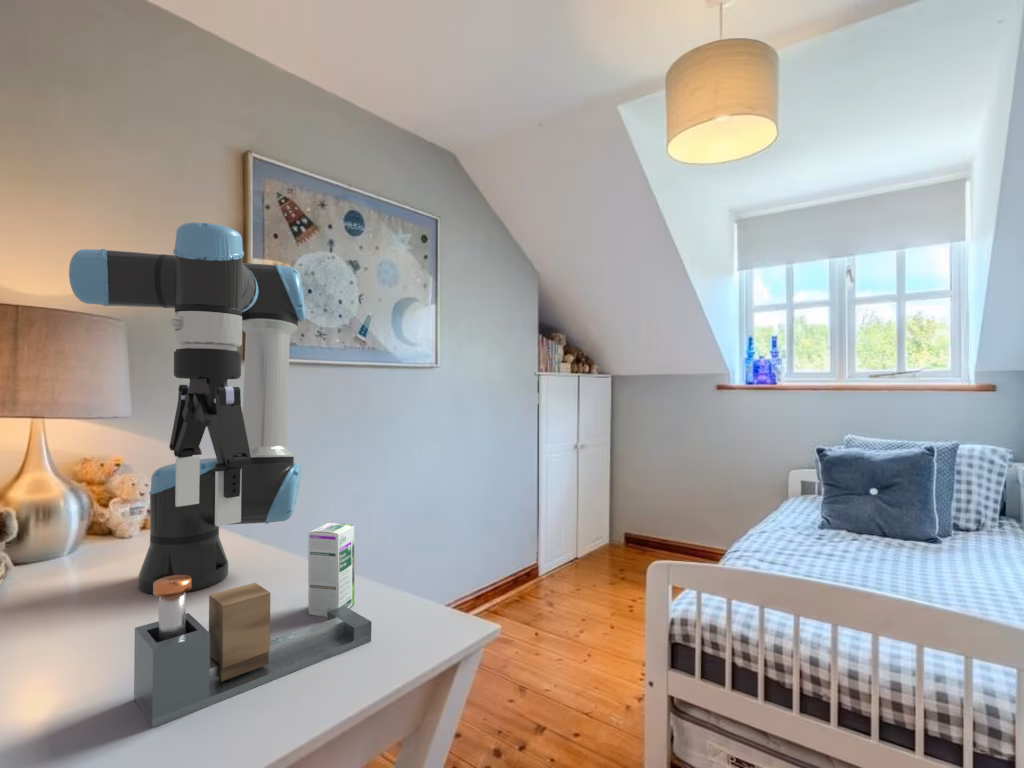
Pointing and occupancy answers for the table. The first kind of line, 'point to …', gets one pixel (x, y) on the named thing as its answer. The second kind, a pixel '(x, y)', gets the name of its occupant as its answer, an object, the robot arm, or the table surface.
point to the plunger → (172, 604)
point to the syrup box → (330, 568)
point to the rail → (195, 679)
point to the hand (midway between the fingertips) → (206, 513)
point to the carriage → (239, 629)
